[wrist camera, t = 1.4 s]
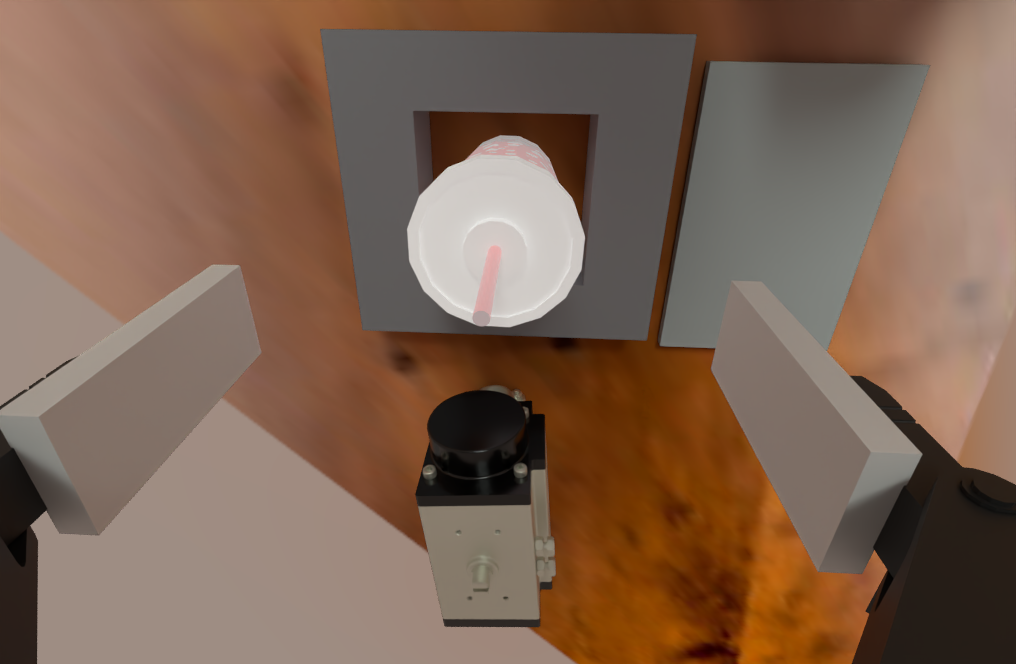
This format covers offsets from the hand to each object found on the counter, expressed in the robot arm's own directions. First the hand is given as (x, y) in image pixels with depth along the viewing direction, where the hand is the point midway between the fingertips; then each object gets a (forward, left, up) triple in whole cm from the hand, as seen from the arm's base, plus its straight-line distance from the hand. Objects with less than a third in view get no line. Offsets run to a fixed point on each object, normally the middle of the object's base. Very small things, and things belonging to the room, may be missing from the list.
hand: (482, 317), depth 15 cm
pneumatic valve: (+14, 0, -14) cm, 19 cm away
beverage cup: (0, 0, -14) cm, 14 cm away
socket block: (0, 0, -13) cm, 13 cm away
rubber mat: (+1, +13, -13) cm, 19 cm away
